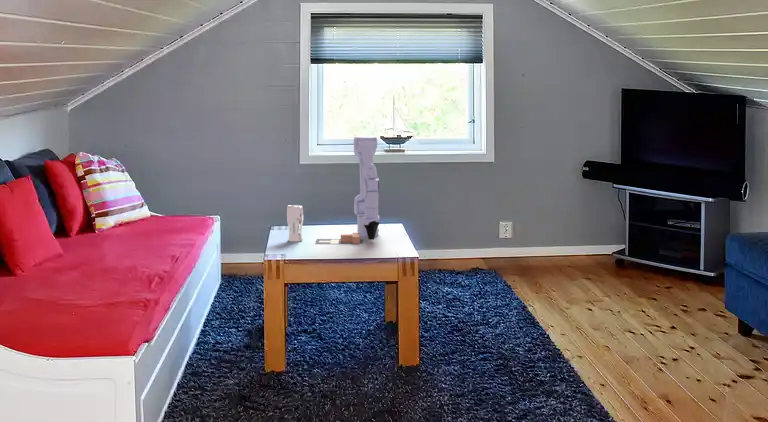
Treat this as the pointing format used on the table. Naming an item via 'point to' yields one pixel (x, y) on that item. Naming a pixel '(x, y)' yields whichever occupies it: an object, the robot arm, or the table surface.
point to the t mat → (333, 241)
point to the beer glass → (295, 222)
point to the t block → (351, 238)
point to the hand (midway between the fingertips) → (371, 239)
